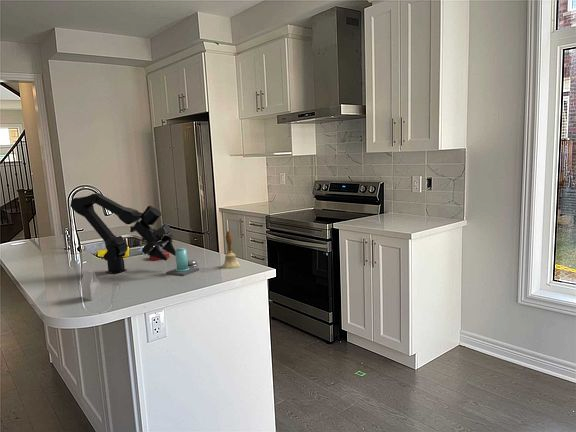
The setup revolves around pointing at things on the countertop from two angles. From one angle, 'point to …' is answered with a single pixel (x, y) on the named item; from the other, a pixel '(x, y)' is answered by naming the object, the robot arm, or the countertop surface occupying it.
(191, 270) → the mat
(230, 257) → the hand bell
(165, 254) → the canned food
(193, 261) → the metal domed disc
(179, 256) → the teal cylinder
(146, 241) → the robot arm
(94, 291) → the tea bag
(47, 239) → the countertop surface
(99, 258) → the countertop surface
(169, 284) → the countertop surface
